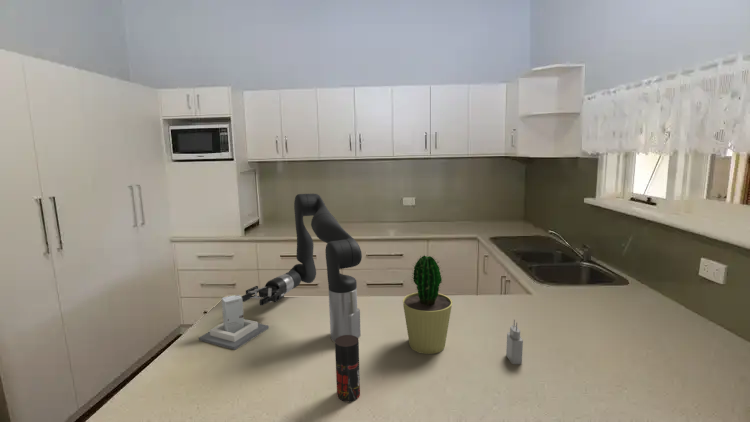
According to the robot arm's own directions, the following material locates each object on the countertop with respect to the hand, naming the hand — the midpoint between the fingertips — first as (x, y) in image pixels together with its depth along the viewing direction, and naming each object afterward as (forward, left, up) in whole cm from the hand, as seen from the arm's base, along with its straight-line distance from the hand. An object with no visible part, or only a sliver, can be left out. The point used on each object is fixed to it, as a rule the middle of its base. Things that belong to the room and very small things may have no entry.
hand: (251, 301), depth 139 cm
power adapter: (-89, -12, -9) cm, 90 cm away
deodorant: (-52, +22, -9) cm, 57 cm away
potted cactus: (-63, -10, -9) cm, 64 cm away
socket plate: (0, +9, -8) cm, 12 cm away
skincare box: (0, +9, -8) cm, 12 cm away
